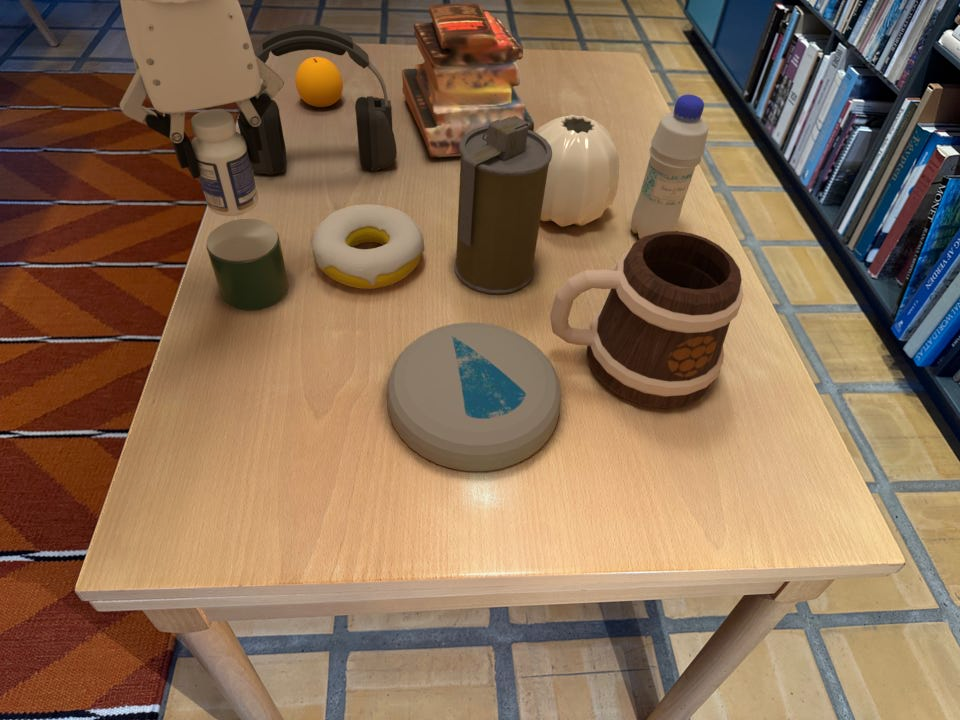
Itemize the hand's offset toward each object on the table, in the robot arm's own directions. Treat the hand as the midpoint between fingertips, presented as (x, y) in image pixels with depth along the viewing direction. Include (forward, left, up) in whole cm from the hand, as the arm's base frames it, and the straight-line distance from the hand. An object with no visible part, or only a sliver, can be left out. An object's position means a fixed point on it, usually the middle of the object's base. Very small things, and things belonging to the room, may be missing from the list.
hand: (223, 163), depth 67 cm
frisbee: (+27, -17, -17) cm, 36 cm away
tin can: (0, 0, -17) cm, 17 cm away
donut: (+14, +6, -17) cm, 23 cm away
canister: (+30, +5, -17) cm, 35 cm away
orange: (+2, +49, -17) cm, 52 cm away
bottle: (+53, +14, -17) cm, 57 cm away
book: (+27, +43, -17) cm, 53 cm away
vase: (+41, +19, -17) cm, 48 cm away
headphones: (+5, +29, -17) cm, 34 cm away
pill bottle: (0, 0, -5) cm, 5 cm away
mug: (+45, -11, -17) cm, 49 cm away
